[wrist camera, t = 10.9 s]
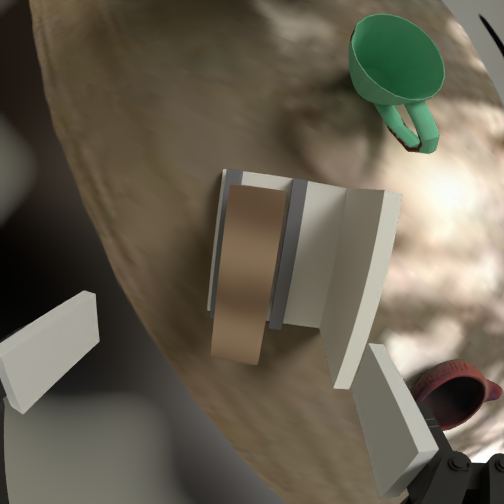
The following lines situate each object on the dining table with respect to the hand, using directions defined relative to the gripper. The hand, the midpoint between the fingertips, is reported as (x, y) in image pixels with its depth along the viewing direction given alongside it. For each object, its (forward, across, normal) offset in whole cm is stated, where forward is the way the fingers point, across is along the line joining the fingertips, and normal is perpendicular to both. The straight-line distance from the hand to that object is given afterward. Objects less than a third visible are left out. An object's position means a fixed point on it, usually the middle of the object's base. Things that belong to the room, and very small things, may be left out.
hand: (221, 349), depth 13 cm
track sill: (+23, +3, 0) cm, 23 cm away
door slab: (+21, 0, 0) cm, 21 cm away
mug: (+23, +12, +20) cm, 33 cm away
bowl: (+23, +33, -16) cm, 43 cm away
